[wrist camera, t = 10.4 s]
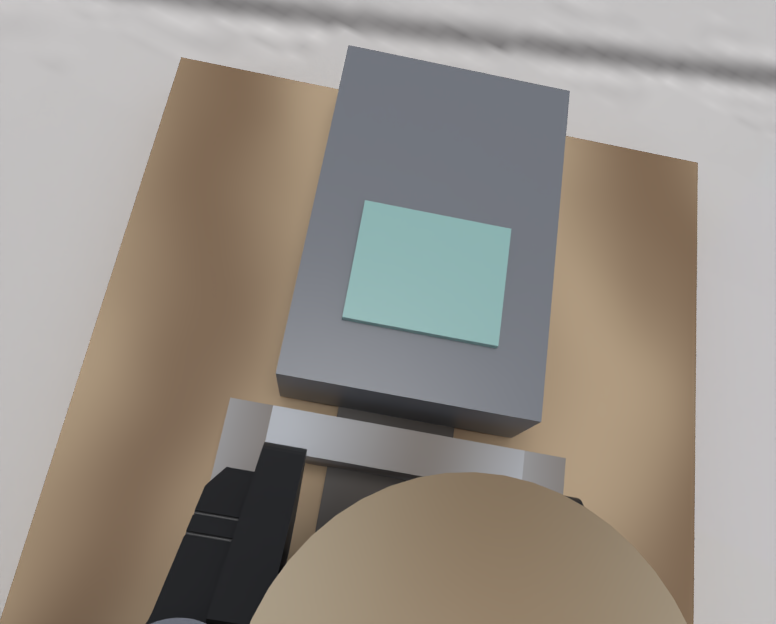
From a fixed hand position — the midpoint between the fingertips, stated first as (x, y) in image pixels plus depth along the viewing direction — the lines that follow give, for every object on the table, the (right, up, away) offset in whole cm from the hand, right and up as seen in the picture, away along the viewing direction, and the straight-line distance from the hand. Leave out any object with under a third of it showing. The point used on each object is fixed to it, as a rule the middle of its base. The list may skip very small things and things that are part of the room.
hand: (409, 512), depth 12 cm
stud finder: (+1, +5, +7) cm, 9 cm away
